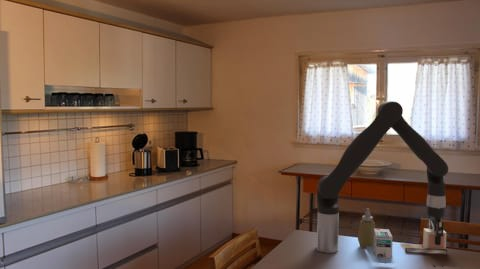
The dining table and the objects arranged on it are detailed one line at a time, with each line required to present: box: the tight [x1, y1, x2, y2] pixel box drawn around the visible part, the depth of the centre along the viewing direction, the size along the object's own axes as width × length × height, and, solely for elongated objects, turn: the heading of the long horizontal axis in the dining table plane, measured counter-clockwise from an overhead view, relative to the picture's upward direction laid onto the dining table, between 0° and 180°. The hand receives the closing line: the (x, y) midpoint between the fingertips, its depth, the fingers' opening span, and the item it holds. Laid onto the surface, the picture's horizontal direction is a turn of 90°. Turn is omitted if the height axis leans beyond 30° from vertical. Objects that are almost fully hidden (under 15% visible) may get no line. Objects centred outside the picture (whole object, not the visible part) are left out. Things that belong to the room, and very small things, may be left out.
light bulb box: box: [373, 227, 393, 259], centre depth 186 cm, size 11×7×11 cm, turn 168°
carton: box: [422, 227, 447, 249], centre depth 189 cm, size 5×8×9 cm, turn 82°
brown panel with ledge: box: [399, 242, 448, 255], centre depth 192 cm, size 17×12×4 cm
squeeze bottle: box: [357, 207, 376, 250], centre depth 198 cm, size 8×8×18 cm
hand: (434, 241), depth 189 cm, fingers open, 8 cm apart
